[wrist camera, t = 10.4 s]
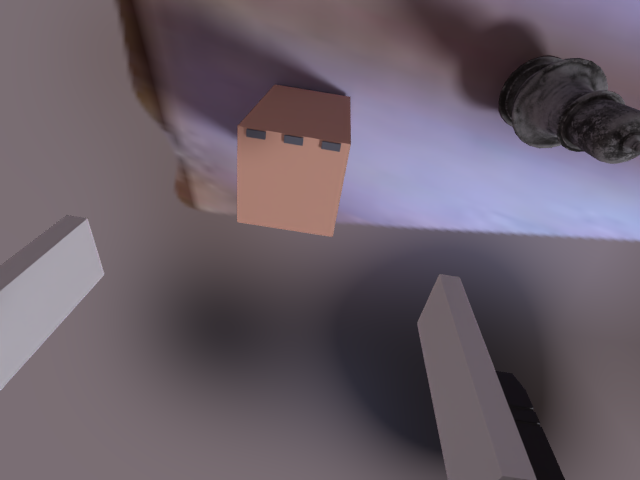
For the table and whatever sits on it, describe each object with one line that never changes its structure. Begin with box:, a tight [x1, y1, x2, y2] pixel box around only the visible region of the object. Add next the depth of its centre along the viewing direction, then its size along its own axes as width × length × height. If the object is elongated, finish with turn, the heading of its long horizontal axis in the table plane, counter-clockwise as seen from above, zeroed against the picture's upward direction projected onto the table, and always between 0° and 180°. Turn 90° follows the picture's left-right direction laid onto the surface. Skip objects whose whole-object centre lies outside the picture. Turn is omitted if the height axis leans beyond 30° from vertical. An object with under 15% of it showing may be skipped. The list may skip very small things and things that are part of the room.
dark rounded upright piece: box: [499, 56, 640, 164], centre depth 22 cm, size 6×6×12 cm
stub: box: [237, 85, 351, 237], centre depth 24 cm, size 6×6×11 cm
